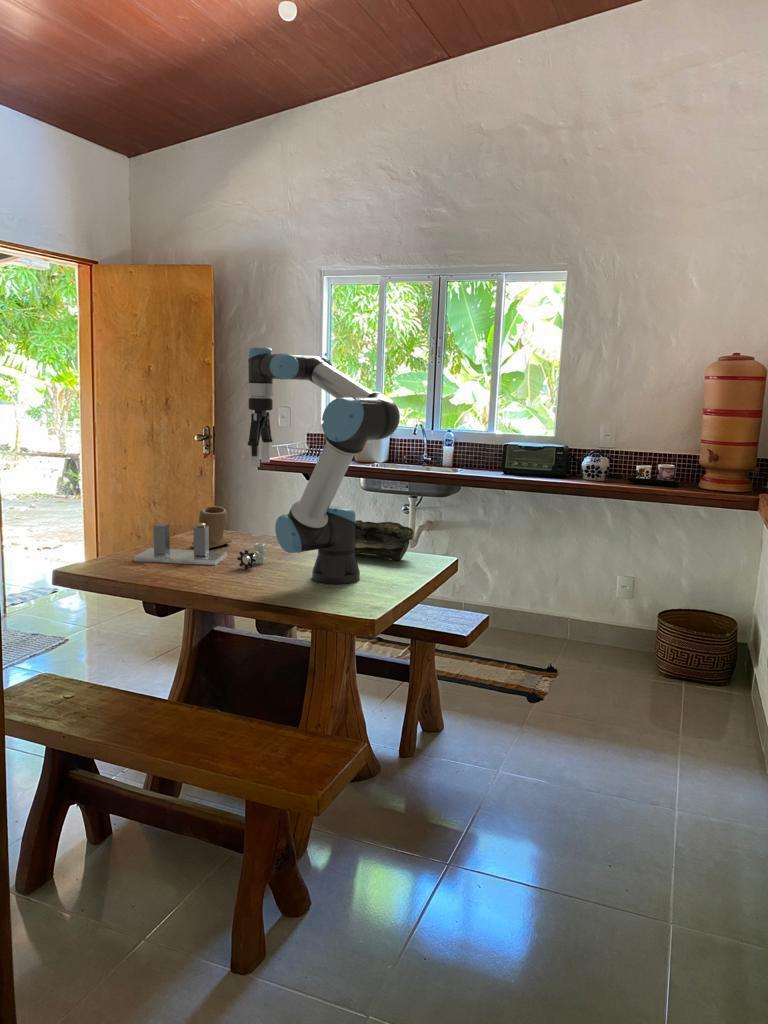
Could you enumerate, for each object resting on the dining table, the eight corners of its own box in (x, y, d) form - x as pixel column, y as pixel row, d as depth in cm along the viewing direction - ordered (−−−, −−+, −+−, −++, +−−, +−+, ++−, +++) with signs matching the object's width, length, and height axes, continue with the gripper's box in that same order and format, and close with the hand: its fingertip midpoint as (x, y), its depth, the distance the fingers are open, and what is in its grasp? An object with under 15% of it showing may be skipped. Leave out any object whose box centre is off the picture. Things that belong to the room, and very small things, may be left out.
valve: (254, 560, 261) (237, 568, 250) (254, 541, 260) (237, 548, 249) (271, 562, 259) (255, 570, 248) (271, 543, 258) (255, 550, 247)
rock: (412, 576, 265) (427, 540, 272) (401, 556, 256) (417, 520, 263) (344, 562, 279) (360, 529, 286) (331, 543, 269) (348, 509, 276)
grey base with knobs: (215, 565, 253) (215, 531, 251) (134, 561, 255) (133, 527, 253) (227, 555, 266) (227, 523, 265) (150, 552, 269) (149, 520, 267)
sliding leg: (205, 555, 258) (205, 525, 256) (193, 555, 258) (193, 524, 256) (208, 553, 262) (208, 522, 260) (197, 552, 262) (197, 522, 260)
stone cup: (210, 552, 271) (210, 511, 269) (187, 547, 278) (187, 507, 275) (240, 545, 284) (240, 506, 281) (218, 541, 290) (217, 502, 288)
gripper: (258, 396, 252) (258, 460, 255) (238, 397, 227) (238, 468, 231) (280, 397, 251) (280, 461, 255) (262, 398, 227) (262, 469, 230)
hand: (260, 464), depth 243 cm, fingers open, 13 cm apart
